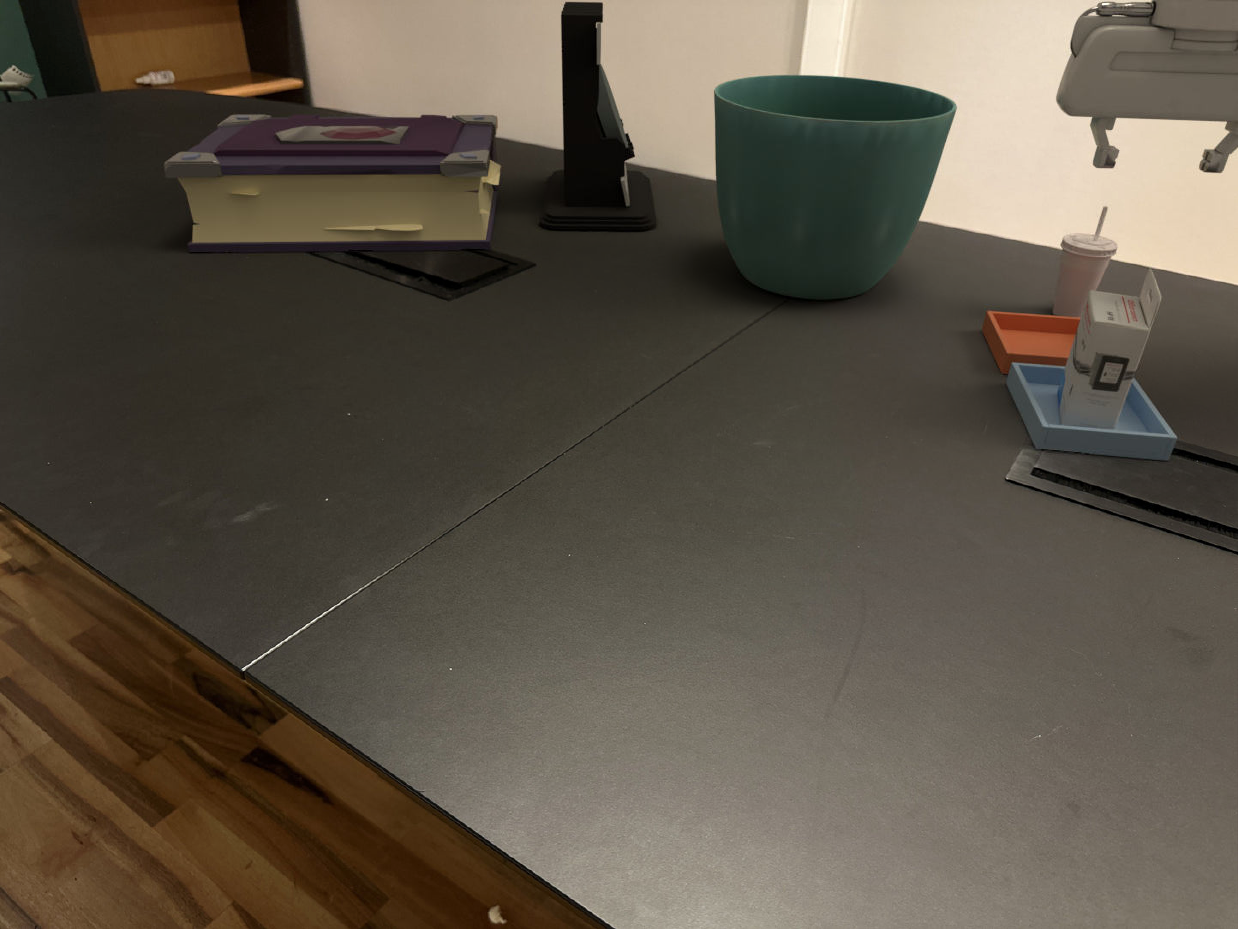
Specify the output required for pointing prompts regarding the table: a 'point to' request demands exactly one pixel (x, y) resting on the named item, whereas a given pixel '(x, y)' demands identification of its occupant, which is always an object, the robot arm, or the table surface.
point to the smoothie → (1081, 269)
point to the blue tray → (1132, 436)
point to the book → (342, 184)
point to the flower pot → (823, 177)
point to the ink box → (1106, 356)
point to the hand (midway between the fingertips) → (1155, 169)
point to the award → (593, 141)
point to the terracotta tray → (1029, 338)
